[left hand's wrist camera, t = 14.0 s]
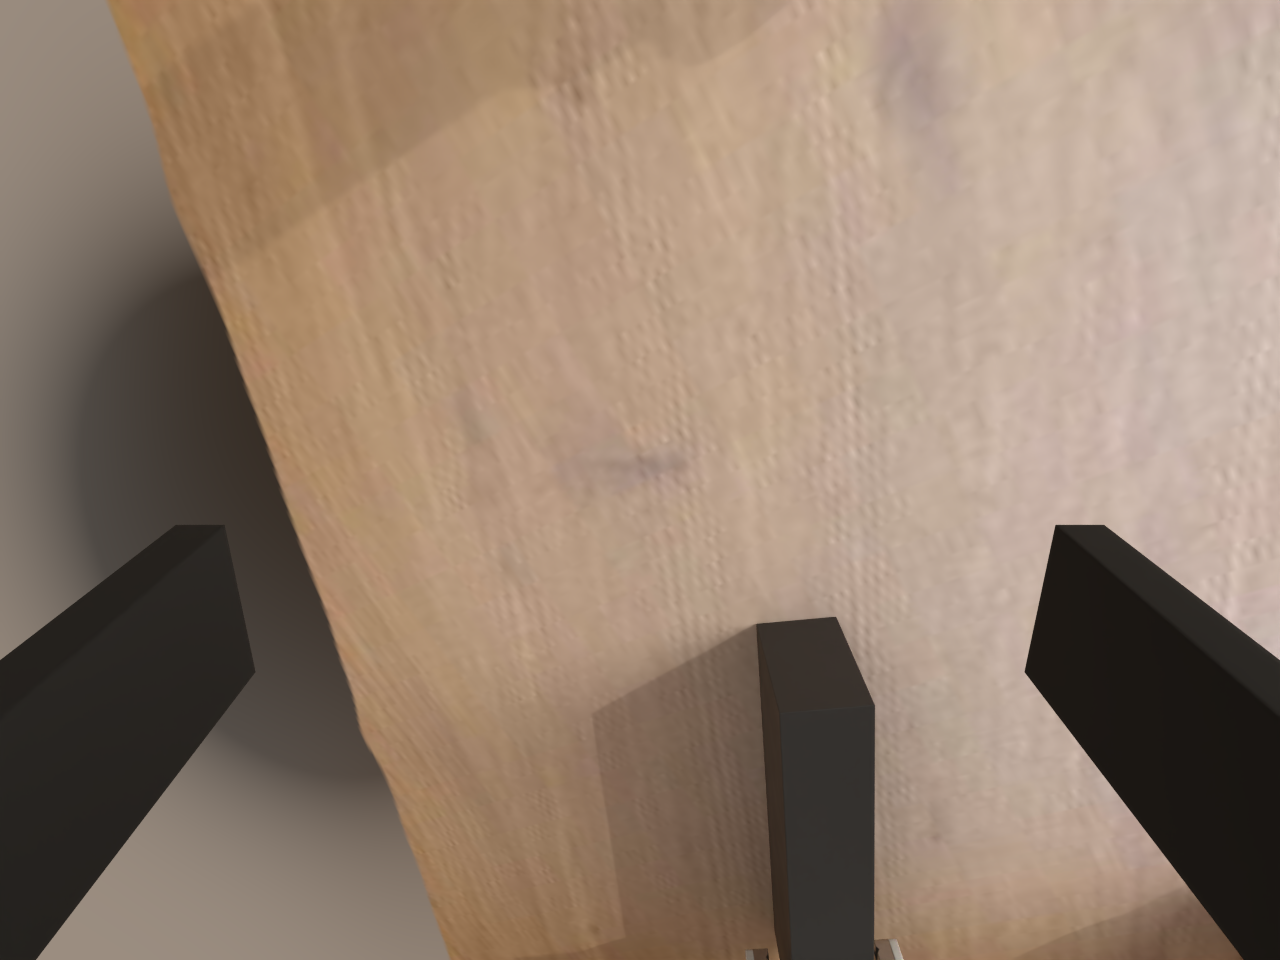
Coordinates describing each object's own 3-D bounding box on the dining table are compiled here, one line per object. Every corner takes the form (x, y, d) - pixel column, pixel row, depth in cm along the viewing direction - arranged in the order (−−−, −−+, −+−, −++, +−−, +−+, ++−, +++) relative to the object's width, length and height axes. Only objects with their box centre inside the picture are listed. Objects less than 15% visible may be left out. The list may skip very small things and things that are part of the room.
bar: (756, 623, 48) (779, 713, 40) (836, 616, 48) (875, 705, 40) (774, 930, 57) (796, 1052, 49) (841, 925, 57) (874, 1046, 49)
